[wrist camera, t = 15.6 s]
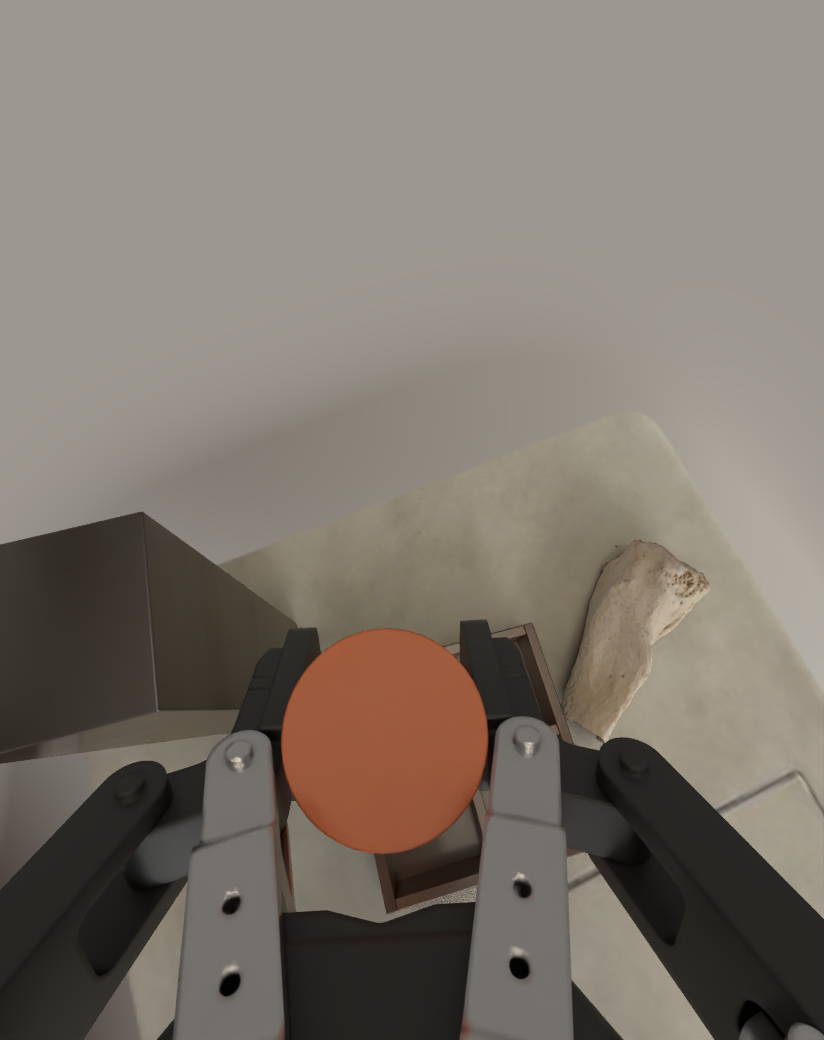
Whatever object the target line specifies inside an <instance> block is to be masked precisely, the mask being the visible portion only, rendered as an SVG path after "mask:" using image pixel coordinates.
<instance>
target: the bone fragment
mask: <svg viewBox="0 0 824 1040" xmlns="http://www.w3.org/2000/svg"><path fill="white" fill-rule="evenodd" d="M615 547H616V548H617V547H619V546H615ZM604 565H605V566H604V567H603V568H602V575H601V576H600V578H599V580H598V582H597V585H596V588H595V591H594V593H593V596H592V598H591V601H590V603H589V611H588V615H587V618H586V622H585V629H584V635H583V639H582V643H581V647H580V650H579V653H578V656H577V659H576V662H575V666H574V667H573V669H572V672H571V676H570V678H569V681H568V683H567V686H566V689H565V693H564V697H563V702H562V704H561V708H562V711H563V714H564V715H565V717H566V718H567V720H568V719H570V720H572V721H573V722H575V723H577V724H579V725H581V726H583V727H584V728H586V729H588V730H589V731H591V732H593V733H594V734H596V735H597V737H596V739H597V740H599V741H600V742H602V743H603V744H604V743H605V742H607V741H608V740H609V737H610V734H611V732H612V730H613V728H614V726H615V725H616V723H617V720H618V718H619V717H620V715H621V714H622V712H623V711H624V710H625V708H626V707H627V706H628V705H629V704H630V702H631V700H632V698H633V695H634V694H635V693H636V691H637V690H638V688H640V687H641V686H642V684H643V683H644V682H645V680H646V679H647V677H648V675H649V673H650V671H651V666H652V658H653V656H652V644H653V643H654V642H655V641H657V640H658V639H660V638H661V637H663V636H665V635H666V634H667V633H669V632H670V631H671V630H672V629H674V628H675V627H676V626H677V625H678V624H679V622H680V621H681V620H682V619H683V618H684V616H685V615H686V614H687V613H688V612H690V610H691V609H692V608H693V606H694V604H695V603H696V602H698V601H699V600H700V599H701V598H702V597H703V596H704V595H705V594H706V593H708V592H709V591H710V587H709V582H708V581H707V580H706V579H705V575H704V574H703V573H700V572H698V571H697V570H696V569H694V568H692V567H690V566H689V565H688V564H686V563H684V562H681V561H680V560H678V559H677V558H676V557H675V556H674V555H673V554H672V553H670V552H669V551H668V550H667V549H666V548H664V547H663V546H660V545H658V544H656V543H650V542H648V543H645V542H642V541H641V540H634V541H633V542H632V543H631V544H630V545H629V546H628V547H627V549H626V550H625V551H624V553H622V554H621V556H618V557H617V558H616V559H614V560H611V561H610V562H606V563H605V564H604Z"/></svg>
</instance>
